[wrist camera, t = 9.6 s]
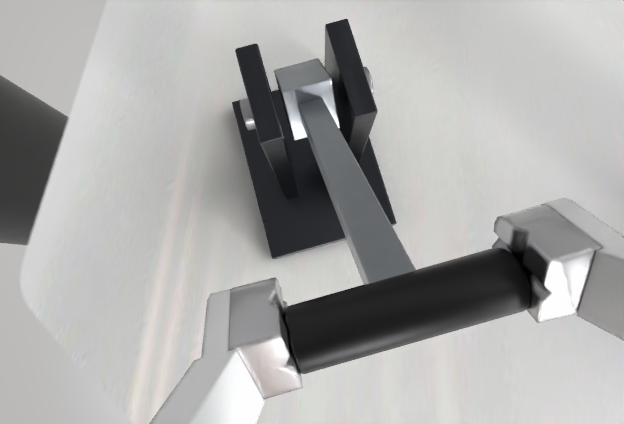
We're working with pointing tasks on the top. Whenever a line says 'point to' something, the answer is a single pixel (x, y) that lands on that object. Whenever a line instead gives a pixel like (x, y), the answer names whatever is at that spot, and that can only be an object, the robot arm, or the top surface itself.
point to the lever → (380, 255)
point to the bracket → (305, 147)
